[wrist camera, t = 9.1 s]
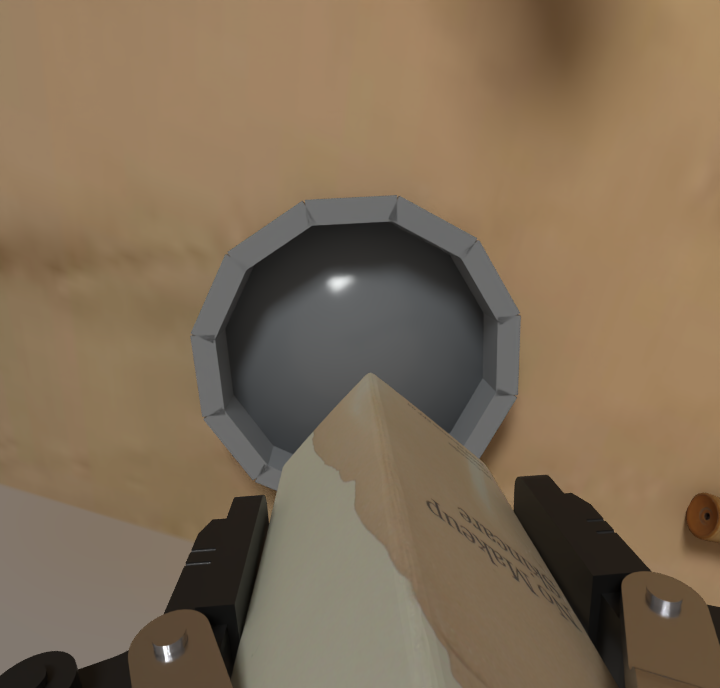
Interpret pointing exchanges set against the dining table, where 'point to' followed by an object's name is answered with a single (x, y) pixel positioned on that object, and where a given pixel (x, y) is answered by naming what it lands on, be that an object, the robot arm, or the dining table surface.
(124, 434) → the dining table surface
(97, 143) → the dining table surface
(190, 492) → the dining table surface
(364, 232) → the round tray
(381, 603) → the box
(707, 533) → the kendama
